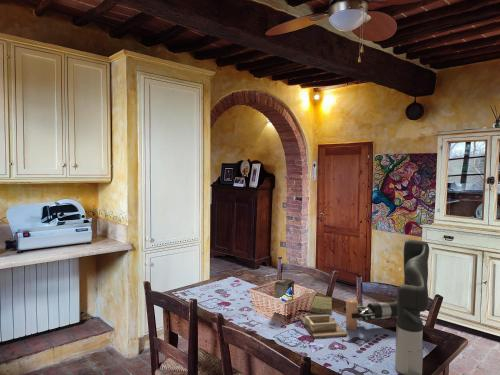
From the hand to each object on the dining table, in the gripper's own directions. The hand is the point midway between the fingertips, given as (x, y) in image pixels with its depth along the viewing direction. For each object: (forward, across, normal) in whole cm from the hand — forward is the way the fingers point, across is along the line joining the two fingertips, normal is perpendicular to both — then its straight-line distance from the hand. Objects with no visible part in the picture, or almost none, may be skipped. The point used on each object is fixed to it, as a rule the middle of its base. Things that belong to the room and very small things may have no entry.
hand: (348, 312), depth 178 cm
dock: (+12, -2, +8) cm, 14 cm away
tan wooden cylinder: (-2, 0, +8) cm, 8 cm away
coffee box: (+25, -24, +8) cm, 36 cm away
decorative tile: (+7, -28, +8) cm, 30 cm away
